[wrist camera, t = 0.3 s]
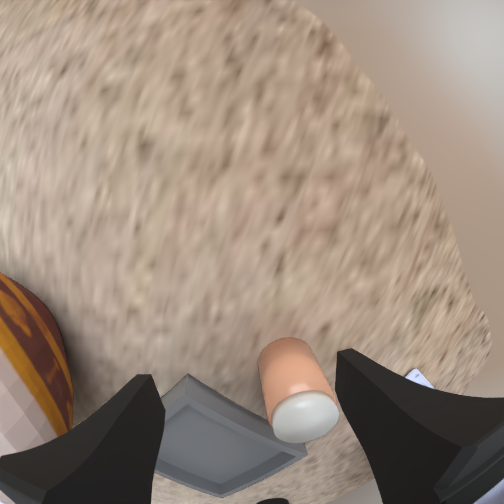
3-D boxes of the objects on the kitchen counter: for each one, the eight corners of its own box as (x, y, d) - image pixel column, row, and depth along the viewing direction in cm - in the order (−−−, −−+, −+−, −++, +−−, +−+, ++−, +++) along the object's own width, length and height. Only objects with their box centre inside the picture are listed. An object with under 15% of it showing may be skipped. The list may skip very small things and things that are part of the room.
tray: (302, 437, 23) (307, 454, 20) (221, 483, 24) (221, 498, 22) (187, 373, 20) (184, 393, 18) (118, 434, 21) (113, 450, 19)
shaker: (323, 356, 21) (355, 414, 14) (284, 389, 21) (302, 451, 14) (286, 327, 20) (311, 387, 13) (246, 364, 20) (254, 430, 13)
